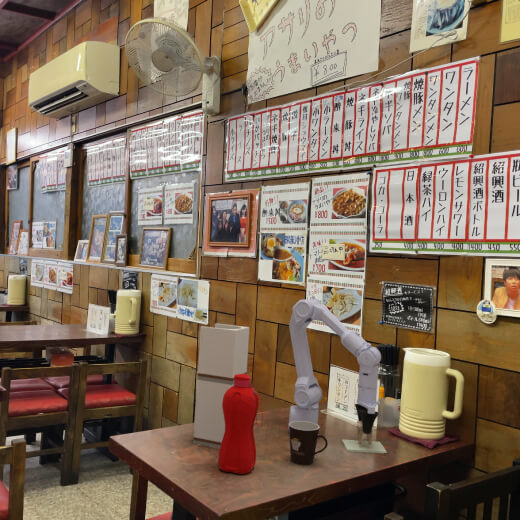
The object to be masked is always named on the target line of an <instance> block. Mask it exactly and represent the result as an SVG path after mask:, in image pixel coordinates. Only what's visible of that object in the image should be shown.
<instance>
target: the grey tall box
mask: <svg viewBox="0 0 520 520" xmlns="http://www.w3.org/2000/svg"><path fill="white" fill-rule="evenodd" d="M199 332H200V333H199V346H198V347H199V348H198V362H197V363H198V364H197V378H196V392H195V408H194V409H195V411H194V424H193V441H192V444H193V443H195V444H194V445H196V444H200V445H199V446H201V445H205V446H204V447H206V446H209V447H208V448H211V447H214V448H213V449H216V448H218V449H217V450H220V446H221V443H222V439H223V436H224V432H225V421H224V414H223V408H222V402H223V397H224V394H225V393H226V391H227V390H228V389H229V388H230V387H232V386H234V379H233V377H234V376H235V375H236V374H246V375H248V358H249V341H250V340H249V339H250V327H249V326H243V325H242V326H240V325H234V324H224V323H214V327H211V326H203V325H202V326H200V330H199Z"/></svg>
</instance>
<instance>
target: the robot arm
mask: <svg viewBox="0 0 520 520" xmlns="http://www.w3.org/2000/svg"><path fill="white" fill-rule="evenodd" d="M312 321H317V322H322V323H323V324H324V325H326V326H327V327H328V328H330V329H331V330H332V331H333V332H334V333H335V334H336V335H337V336H338V337H340V342H341V343H340V344H342V345H343V347H345V349H347V350H348V351H349V352H350V353H351V354H352V355H353V356H354V357H355V358H356V360H357V363H358V365H359V371H358V384H357V399H356V403H354V407H355V410H356V412H357V418H358V421H362V428H363V434H364V435H366V434H370V433H371V431H372V427H373V424H374V425H375V421H376V420H377V418H378V417H379V412H378V411H376V406H379V405H381V402H380V401H379V400H377V397H378V396H377V394H378V393H377V392H378V381H379V380H378V379H379V377H378V376H379V363H380V362H381V360H382V354H381V352H380V350H379V349H378V348H377V347H375V346H372V344H371V343H370V342H367V341H366V340H365V339H364V338H363V337H362V336H361V333H360V332H359V331H356V330H354V329H348V328H347V327H346V326H345V325H344V324H343V323H342V322H341V321H340V320H339V319H338V318H337V317H336V316H335V315H334V314H333V312H331V310H330V309H328V307H327V306H326V304H324V303H322V302H321V301H320V300H319V299H317V298H310V299H304V298H303V299H299V300H298V301H297V302H296V303H295V304H294V305H293V307H292V314H291V316H290V321H289V325H288V327H289V335H290V338H291V346H292V353H293V359H294V364H295V371H296V376H297V378H296V382H295V384H294V395H293V400H294V403H295V405H290V407H289V418H288V424H287V425H288V426H287V428H288V429H287V430H289V423H291V422H294V421H307V422H312V423H315V424H317V425H319V424H318V423H319V407H320V406H319V402H320V401H321V400H322V398H323V390H322V388H321V387H320V385H319V382H318V381H319V380H318V379H317V377H316V376H315V375H314V370H313V363H312V356H311V352H310V351H311V350H310V346H309V345H310V344H309V340H308V333H307V328H308V326H309V325H310V324H311V323H312ZM372 432H373V431H372ZM318 435H320V434H319V433H318Z"/></svg>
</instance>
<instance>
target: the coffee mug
mask: <svg viewBox="0 0 520 520" xmlns="http://www.w3.org/2000/svg"><path fill="white" fill-rule="evenodd" d="M288 424H289V429H288V432H289V433H288V434H289V450H290V451H289V454H290V462H291V463H292V464H295V465H298V466H299V465H300V466H311V465H313V464H314V460H315V455H317V454H319V453H322V452H323V451H325V450H326V448H327V447H328V445H329V443H328V439H327V438H326V437H325V436H324V435H322V434H319V431H320V428H321V427H320V425H319V424H318V425H317V424H315V423H312V422H307V421H294V422H291V423H289V422H288ZM318 434H319V435H318ZM320 438H322V439H323V440H324V442H325V445H324V447H323V448H322V449H319V450H318V451H316V449H317V445H318V440H319V439H320Z"/></svg>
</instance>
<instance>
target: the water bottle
mask: <svg viewBox="0 0 520 520" xmlns="http://www.w3.org/2000/svg"><path fill="white" fill-rule="evenodd" d="M233 379H234V386H232V387H230V388H229V389H228V390H227V391H226V393H225V394H224V397H223V402H222V408H223V414H224V421H225V432H224V436H223V439H222V443H221V446H220V449H218V468H219V469H220V470H222V471H223V472H225V473H226V472H227V473H232V474H239V475H243V474H248V473H250V472H251V471H252V470H253V469H254V468H255V465H256V461H257V448H256V440H255V434H254V426H255V424H256V425H257V426H258V427H261V425H259V424H258V422H257V419H258V418H257V417H258V410H259V406H260V409H261V416H262V418H261V421H262V422H261V424H263V423H264V414H263V413H264V412H263V406H262V402H261V398H260V397H259V393H258V391H257V390H256V389H255V388H254V387H253V384H252V383H251V376H250V375H249V374H247V375H246V374H236V375H235V376H234V377H233Z"/></svg>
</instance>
